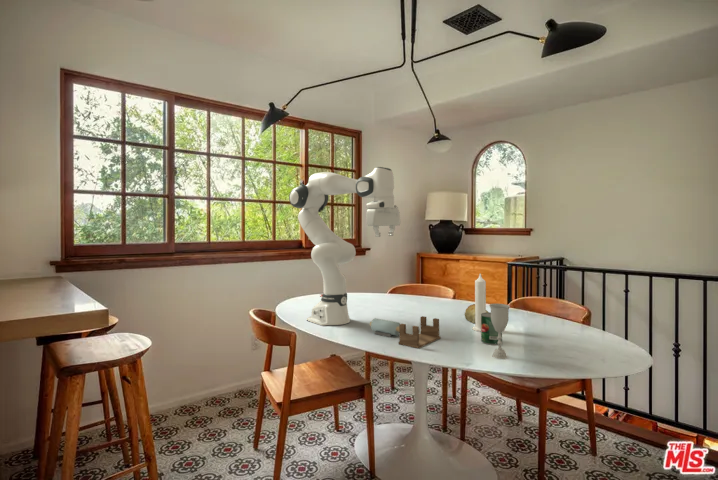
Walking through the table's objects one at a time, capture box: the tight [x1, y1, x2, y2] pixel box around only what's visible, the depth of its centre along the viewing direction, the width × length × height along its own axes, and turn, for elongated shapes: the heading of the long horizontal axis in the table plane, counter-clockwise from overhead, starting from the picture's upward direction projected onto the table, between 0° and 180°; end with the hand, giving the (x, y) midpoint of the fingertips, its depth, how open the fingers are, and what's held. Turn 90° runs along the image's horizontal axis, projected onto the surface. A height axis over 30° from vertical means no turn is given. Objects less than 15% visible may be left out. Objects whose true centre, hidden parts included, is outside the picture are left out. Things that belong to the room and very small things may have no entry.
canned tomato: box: [480, 311, 503, 346], centre depth 156 cm, size 8×8×11 cm
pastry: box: [464, 303, 489, 325], centre depth 191 cm, size 14×12×8 cm
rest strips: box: [374, 331, 392, 338], centre depth 170 cm, size 8×5×1 cm, turn 49°
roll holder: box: [398, 315, 441, 349], centre depth 159 cm, size 17×9×8 cm, turn 139°
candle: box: [472, 273, 487, 333], centre depth 174 cm, size 7×7×25 cm
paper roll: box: [369, 317, 401, 336], centre depth 170 cm, size 16×6×6 cm, turn 49°
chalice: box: [488, 303, 511, 360], centre depth 139 cm, size 7×7×18 cm
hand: (384, 236), depth 172 cm, fingers open, 8 cm apart
